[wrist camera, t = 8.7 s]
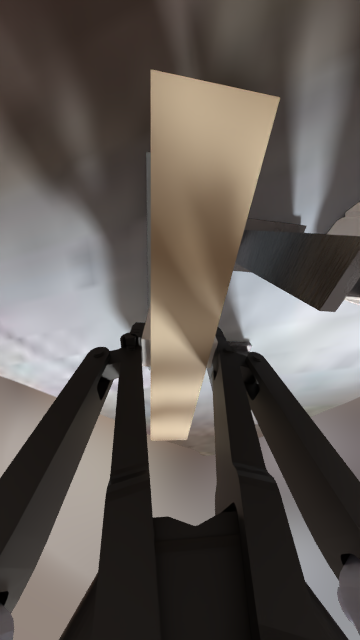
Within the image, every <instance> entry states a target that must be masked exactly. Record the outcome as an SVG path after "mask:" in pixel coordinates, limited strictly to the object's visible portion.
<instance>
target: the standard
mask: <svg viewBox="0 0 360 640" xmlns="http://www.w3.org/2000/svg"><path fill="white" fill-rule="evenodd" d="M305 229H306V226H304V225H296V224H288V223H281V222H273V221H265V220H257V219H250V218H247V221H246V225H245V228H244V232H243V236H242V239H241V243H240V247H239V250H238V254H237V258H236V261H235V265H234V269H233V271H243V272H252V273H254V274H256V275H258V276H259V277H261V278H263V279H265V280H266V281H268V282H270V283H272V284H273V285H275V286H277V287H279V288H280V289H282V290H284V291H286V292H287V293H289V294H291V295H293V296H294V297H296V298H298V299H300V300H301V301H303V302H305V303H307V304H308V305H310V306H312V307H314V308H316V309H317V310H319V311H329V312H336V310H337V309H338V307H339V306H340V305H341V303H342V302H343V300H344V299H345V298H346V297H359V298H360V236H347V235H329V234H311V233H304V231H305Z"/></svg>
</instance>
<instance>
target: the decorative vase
mask: <svg viewBox="0 0 360 640" xmlns="http://www.w3.org/2000/svg"><path fill="white" fill-rule="evenodd" d="M327 234H329V235H347V236H360V202H359V203H357V204H356V205H354V206H353V207H352V208H350V209H349V210H348V211H347V212H345V217H343V218H341V219H339V220H338V221H337V222H336V223H335V224H334V225H333V227H332V228H331V229H330V230H329V232H328V233H327ZM344 300H346V301H349V302H351V303H354V304H357V305H360V298H359V297H346V298H345V299H344Z"/></svg>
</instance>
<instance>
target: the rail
mask: <svg viewBox="0 0 360 640" xmlns="http://www.w3.org/2000/svg"><path fill="white" fill-rule="evenodd" d="M279 100H280V97H276V96H271V95H267V94H262V93H257V92H253V91H248V90H243V89H239V88H234V87H230V86H225V85H220V84H216V83H211V82H207V81H202V80H197V79H193V78H188V77H184V76H179V75H174V74H170V73H165V72H161V71H156V70H151V441H152V440H187V437H188V433H189V430H190V426H191V422H192V419H193V415H194V411H195V408H196V404H197V400H198V397H199V393H200V389H201V386H202V382H203V378H204V375H205V371H206V367H207V364H208V360H209V356H210V353H211V349H212V345H213V342H214V338H215V334H216V331H217V327H218V323H219V320H220V316H221V312H222V309H223V305H224V301H225V298H226V294H227V290H228V287H229V283H230V279H231V276H232V272H233V269H234V265H235V261H236V258H237V254H238V250H239V247H240V243H241V239H242V236H243V232H244V228H245V225H246V221H247V217H248V214H249V210H250V206H251V203H252V199H253V195H254V192H255V188H256V184H257V181H258V177H259V173H260V170H261V166H262V162H263V159H264V155H265V151H266V148H267V144H268V140H269V137H270V133H271V129H272V126H273V122H274V118H275V115H276V111H277V107H278V104H279Z"/></svg>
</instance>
